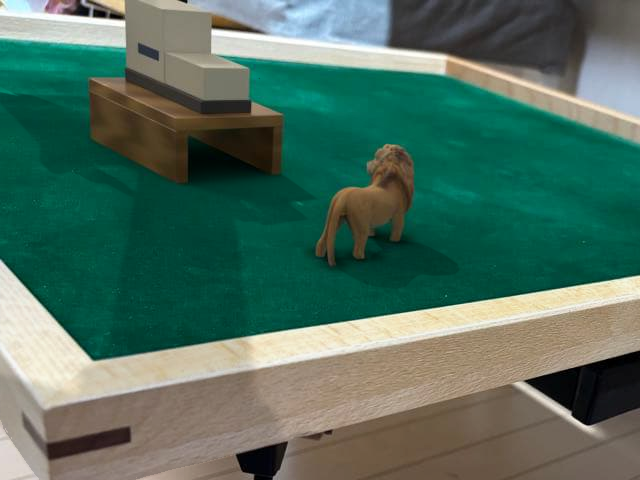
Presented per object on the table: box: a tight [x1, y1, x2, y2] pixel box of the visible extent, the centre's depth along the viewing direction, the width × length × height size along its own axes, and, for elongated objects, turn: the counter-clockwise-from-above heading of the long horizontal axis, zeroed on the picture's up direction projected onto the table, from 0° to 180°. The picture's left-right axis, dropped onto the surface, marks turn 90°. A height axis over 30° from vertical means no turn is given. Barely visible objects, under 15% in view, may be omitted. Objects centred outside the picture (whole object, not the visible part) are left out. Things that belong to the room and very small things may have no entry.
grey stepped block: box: [124, 0, 253, 114], centre depth 86 cm, size 13×6×8 cm, turn 52°
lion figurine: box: [315, 143, 415, 267], centre depth 76 cm, size 15×5×9 cm, turn 169°
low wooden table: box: [87, 77, 285, 184], centre depth 89 cm, size 15×12×7 cm
